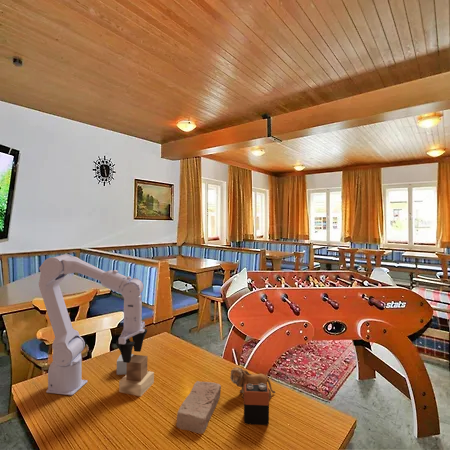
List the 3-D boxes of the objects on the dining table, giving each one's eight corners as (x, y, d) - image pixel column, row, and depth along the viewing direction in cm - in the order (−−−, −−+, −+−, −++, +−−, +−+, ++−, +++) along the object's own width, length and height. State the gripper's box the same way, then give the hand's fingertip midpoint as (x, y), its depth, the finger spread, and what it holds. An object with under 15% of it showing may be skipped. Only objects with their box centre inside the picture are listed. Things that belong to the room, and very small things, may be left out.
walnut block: (126, 380, 94) (126, 361, 93) (133, 371, 98) (133, 354, 98) (140, 381, 93) (141, 363, 93) (147, 373, 98) (147, 355, 98)
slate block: (116, 374, 103) (116, 361, 103) (120, 367, 108) (120, 354, 108) (130, 374, 104) (130, 360, 104) (133, 367, 109) (133, 354, 109)
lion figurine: (231, 401, 89) (231, 372, 89) (229, 390, 94) (229, 364, 94) (277, 398, 90) (277, 370, 90) (272, 388, 96) (273, 362, 95)
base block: (119, 393, 93) (119, 380, 93) (133, 379, 101) (133, 368, 101) (140, 397, 91) (140, 385, 91) (153, 383, 99) (153, 372, 99)
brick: (204, 435, 75) (204, 417, 75) (174, 429, 77) (175, 411, 77) (221, 397, 91) (221, 383, 91) (196, 393, 93) (196, 379, 93)
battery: (269, 426, 78) (269, 390, 78) (244, 424, 79) (244, 389, 79) (267, 415, 83) (267, 381, 83) (243, 414, 83) (244, 380, 83)
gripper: (133, 324, 88) (133, 368, 88) (152, 310, 102) (152, 347, 102) (112, 323, 89) (112, 366, 89) (134, 308, 103) (133, 346, 103)
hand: (132, 356), depth 96 cm, fingers open, 7 cm apart
